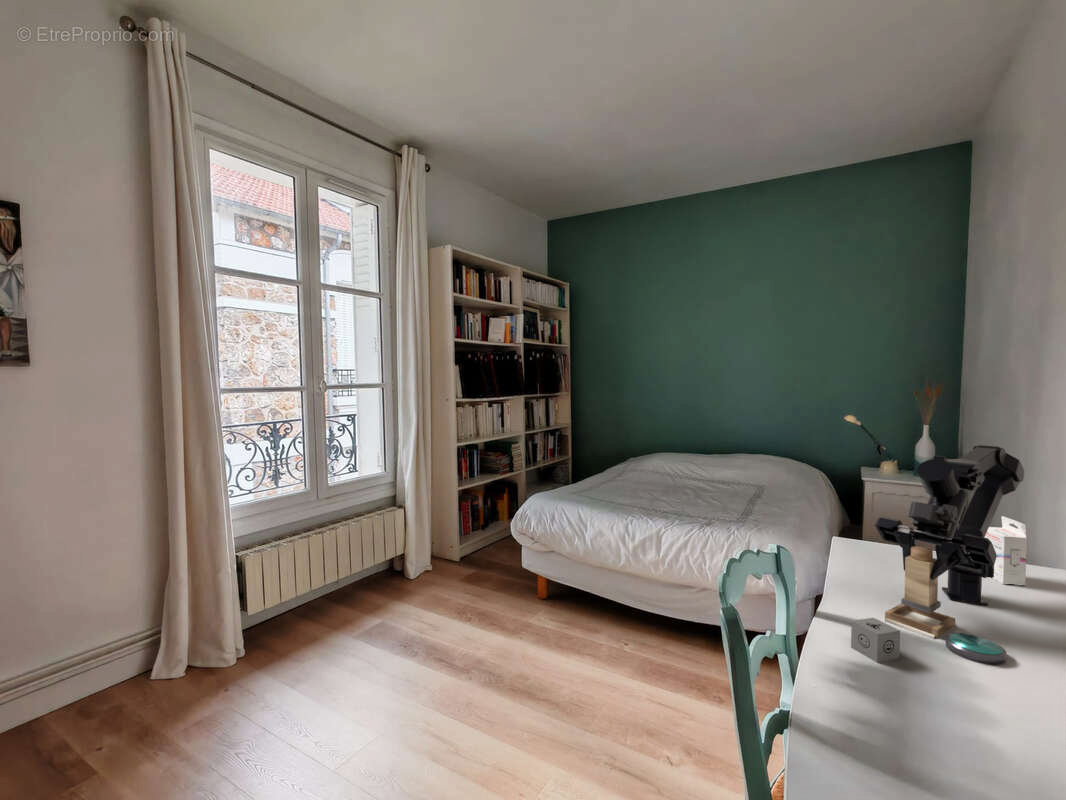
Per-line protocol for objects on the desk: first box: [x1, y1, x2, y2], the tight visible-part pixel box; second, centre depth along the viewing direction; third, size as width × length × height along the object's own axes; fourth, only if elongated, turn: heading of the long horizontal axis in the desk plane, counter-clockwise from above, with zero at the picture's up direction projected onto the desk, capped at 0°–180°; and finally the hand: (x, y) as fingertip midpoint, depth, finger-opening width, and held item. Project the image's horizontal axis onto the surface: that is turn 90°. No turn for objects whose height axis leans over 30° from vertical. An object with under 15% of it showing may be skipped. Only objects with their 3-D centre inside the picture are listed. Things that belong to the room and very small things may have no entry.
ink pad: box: [945, 632, 1007, 666], centre depth 88 cm, size 8×8×2 cm
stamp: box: [900, 546, 942, 613], centre depth 98 cm, size 5×5×11 cm
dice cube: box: [850, 617, 901, 663], centre depth 87 cm, size 5×5×5 cm
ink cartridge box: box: [984, 515, 1028, 586], centre depth 121 cm, size 9×5×15 cm, turn 168°
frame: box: [884, 603, 956, 639], centre depth 98 cm, size 10×9×2 cm
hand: (918, 574), depth 98 cm, fingers closed on stamp, 4 cm apart
